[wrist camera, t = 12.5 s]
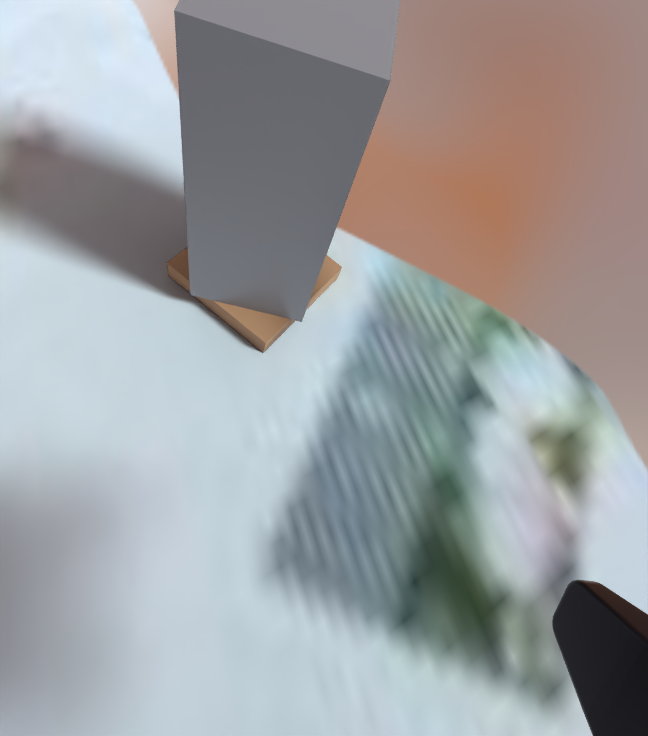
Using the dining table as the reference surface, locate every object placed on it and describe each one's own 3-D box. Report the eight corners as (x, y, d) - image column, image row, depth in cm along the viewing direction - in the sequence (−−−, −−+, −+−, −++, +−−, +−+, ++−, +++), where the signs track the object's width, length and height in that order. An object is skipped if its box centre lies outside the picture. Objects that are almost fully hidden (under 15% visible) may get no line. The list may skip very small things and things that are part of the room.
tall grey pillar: (301, 321, 22) (390, 80, 11) (190, 295, 21) (174, 10, 11) (317, 236, 24) (404, -31, 14) (217, 209, 24) (226, -95, 13)
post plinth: (263, 352, 22) (279, 288, 17) (168, 275, 23) (157, 191, 18) (337, 278, 25) (369, 204, 20) (250, 210, 25) (261, 122, 20)
